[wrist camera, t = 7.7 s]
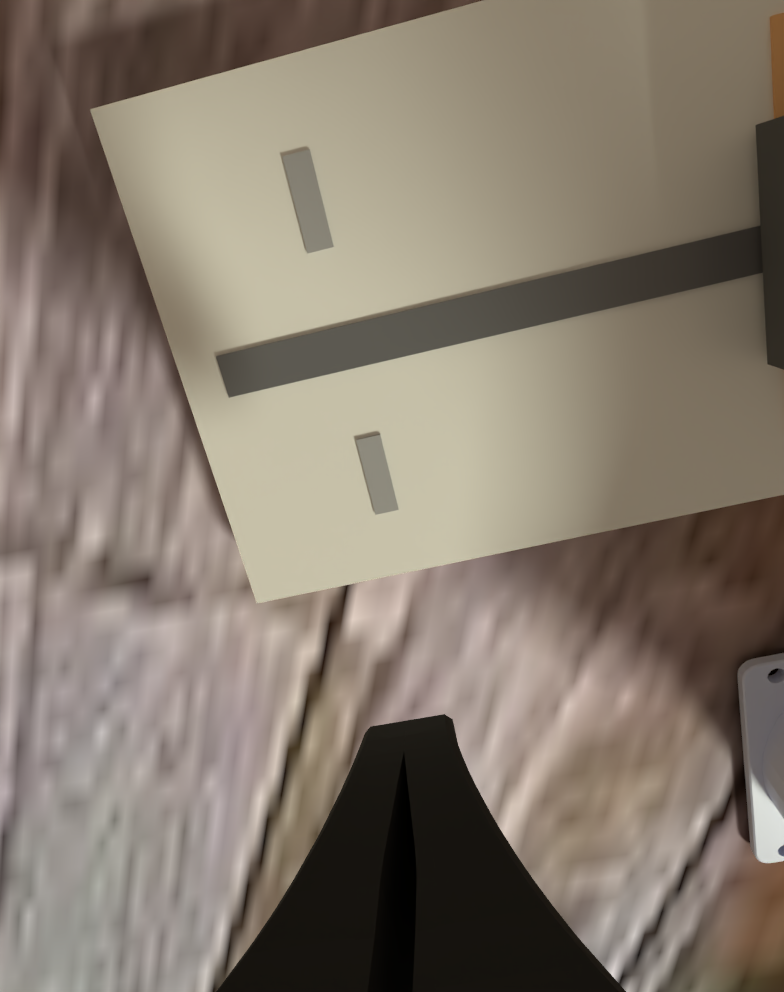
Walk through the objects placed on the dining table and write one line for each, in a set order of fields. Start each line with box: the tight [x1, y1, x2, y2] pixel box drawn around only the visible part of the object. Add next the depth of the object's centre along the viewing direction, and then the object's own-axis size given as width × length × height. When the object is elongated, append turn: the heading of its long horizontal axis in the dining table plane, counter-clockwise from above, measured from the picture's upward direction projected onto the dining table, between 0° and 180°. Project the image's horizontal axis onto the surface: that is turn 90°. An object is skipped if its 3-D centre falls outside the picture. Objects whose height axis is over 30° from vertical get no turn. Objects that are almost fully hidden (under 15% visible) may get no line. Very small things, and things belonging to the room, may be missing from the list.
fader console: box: [90, 0, 784, 603], centre depth 17 cm, size 20×12×2 cm, turn 103°
